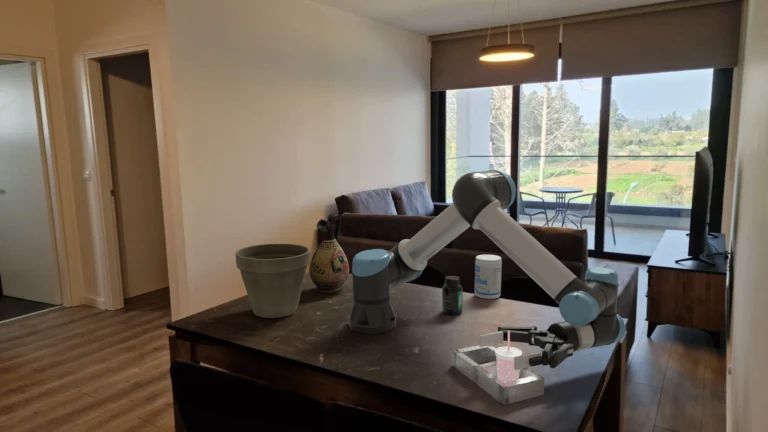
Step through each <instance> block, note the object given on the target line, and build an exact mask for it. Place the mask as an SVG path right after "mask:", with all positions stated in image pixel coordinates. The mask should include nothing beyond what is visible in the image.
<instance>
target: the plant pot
mask: <svg viewBox="0 0 768 432" xmlns="http://www.w3.org/2000/svg"><path fill="white" fill-rule="evenodd" d="M234 257H235V264H236V269H238V270H239V271H240V275H241V279H242V281H243V284H244V288H245V292H246V295H247V296H248V300H249V302H250V303H249V304H250V307H251V309H252V312H253V314H254V315H255V316H257V317H260V318H264V319H276V318H277V319H278V318H283V317H287V316H290V315H292V314H295V312H296V311H297V309H298V306H299V303H300V298H301V293H302V291H303V287H304V286H303V285H304V281H305V277H306V272H307V268H308V267H309V266H310V263H311V249H310V248H309V247H308V246H305V245H301V244H295V243H264V244H262V243H261V244H256V245H255V244H254V245H250V246H245V247H242V248H239V249H238V250H236V252H235V256H234Z"/></svg>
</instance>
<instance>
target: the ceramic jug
mask: <svg viewBox="0 0 768 432" xmlns="http://www.w3.org/2000/svg"><path fill="white" fill-rule="evenodd" d="M334 220H335V223H334ZM341 224H342V218H341V215H340V214H338V213H331V214H329V216H328V218H327V220H325V219H324V218H323V219H322V218H321V219H319V221H317V223H316V227H317V229H318V230H320V231H323V232H324V233H325V236H324V237H323V239H322V241H321V243H320V244H318V247H317V248H316V250H315V252H314V253H313V255H312V258H311V259H310V263H309V273H308V274H309V277H310V280H311V281H312V283H313V285H314V286H315V287H316V291H317V292H318V293H321V294H322V293H324V294H332V293H336V292H340V291H341V290H342V289H341V288H342V287H343V285H344V284H345V282H346V280H348V278H349V274H350V266H349V261H348V258H347V255H346V254H345V252H344V250H343V249H342V246H340V244H339V243H338V242H339V239H338V238H339V235H340V234H339V233H340V229H341Z"/></svg>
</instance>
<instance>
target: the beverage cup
mask: <svg viewBox="0 0 768 432" xmlns="http://www.w3.org/2000/svg"><path fill="white" fill-rule="evenodd" d="M496 348H497V349H495V355H496V360H497V378H498V379H500V380H501V381H502V382H504V383H505V382H509V381H513V380H517V379H519V371H520V369H519V370H515V369H514V357H516V356H521V355H523V351H522V350H521V349H520V348H518V347H513V346H511V341H510V331H509V330H508V341H507V345H506V346H500V347H496Z"/></svg>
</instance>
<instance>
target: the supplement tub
mask: <svg viewBox="0 0 768 432" xmlns="http://www.w3.org/2000/svg"><path fill="white" fill-rule="evenodd" d="M502 264H503V263H502V257H501V256H499V255H495V254H480V255H479V254H478V255H476V256H475V261H474V295H475V297H478V298H481V299H484V300H485V299H486V300H487V299H488V300H495V299H498V298H499V297H500V296H501V292H502V289H501V288H502V269H503V268H502V267H503V266H502Z"/></svg>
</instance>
